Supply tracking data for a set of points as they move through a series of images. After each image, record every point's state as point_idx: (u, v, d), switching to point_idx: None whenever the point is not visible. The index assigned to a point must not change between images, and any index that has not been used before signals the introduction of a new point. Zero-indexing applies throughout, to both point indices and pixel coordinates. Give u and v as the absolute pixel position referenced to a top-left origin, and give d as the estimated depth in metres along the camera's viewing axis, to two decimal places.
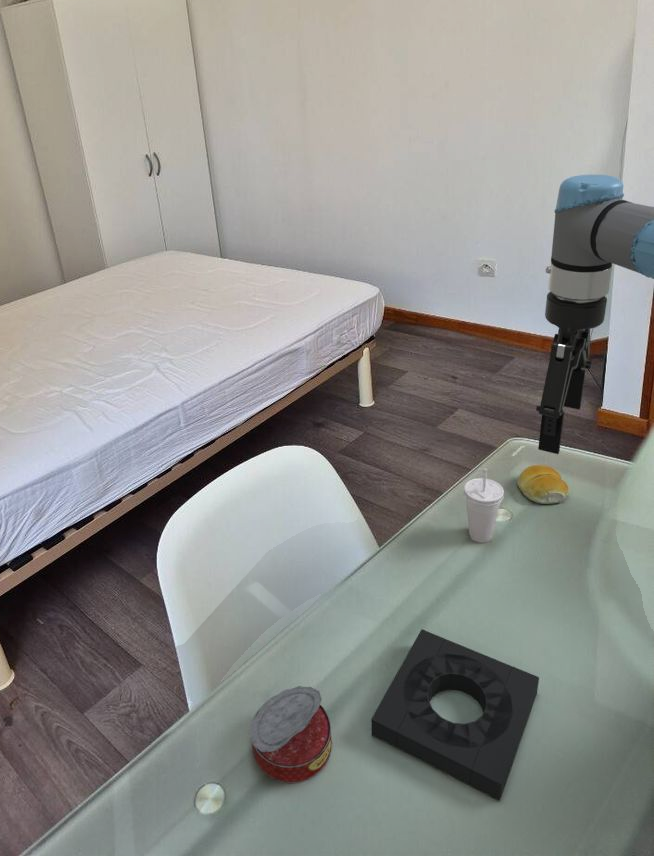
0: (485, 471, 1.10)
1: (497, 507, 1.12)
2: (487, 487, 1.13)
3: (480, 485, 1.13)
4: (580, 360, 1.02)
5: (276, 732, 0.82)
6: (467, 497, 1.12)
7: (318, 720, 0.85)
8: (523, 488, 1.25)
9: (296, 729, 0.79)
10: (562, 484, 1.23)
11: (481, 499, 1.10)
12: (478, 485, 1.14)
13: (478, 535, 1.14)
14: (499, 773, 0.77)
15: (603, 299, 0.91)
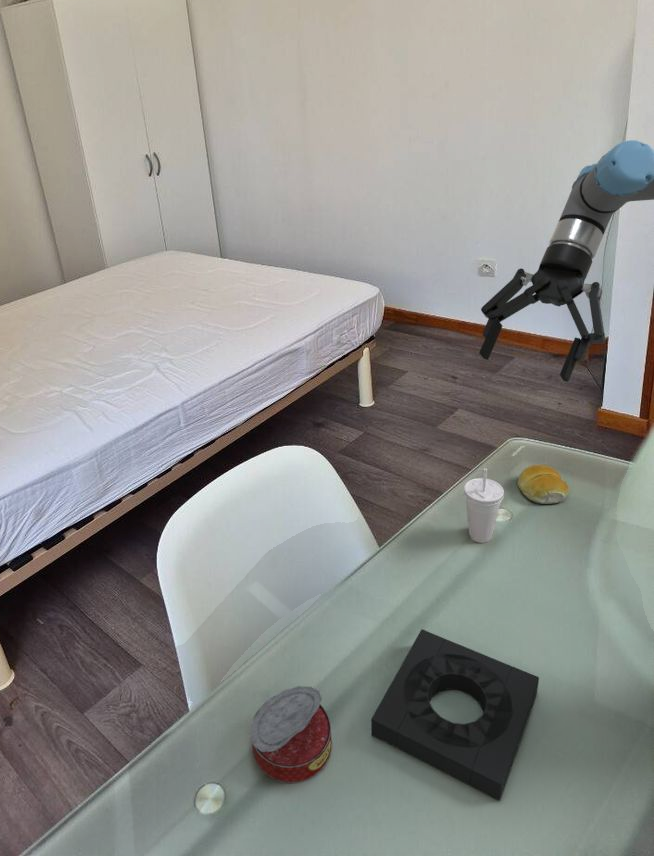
0: (485, 471, 1.10)
1: (497, 507, 1.12)
2: (487, 487, 1.13)
3: (480, 485, 1.13)
4: (576, 325, 1.08)
5: (276, 732, 0.82)
6: (467, 497, 1.12)
7: (318, 720, 0.85)
8: (523, 488, 1.25)
9: (296, 729, 0.79)
10: (562, 484, 1.23)
11: (481, 499, 1.10)
12: (478, 485, 1.14)
13: (478, 535, 1.14)
14: (499, 773, 0.77)
15: (564, 244, 1.12)
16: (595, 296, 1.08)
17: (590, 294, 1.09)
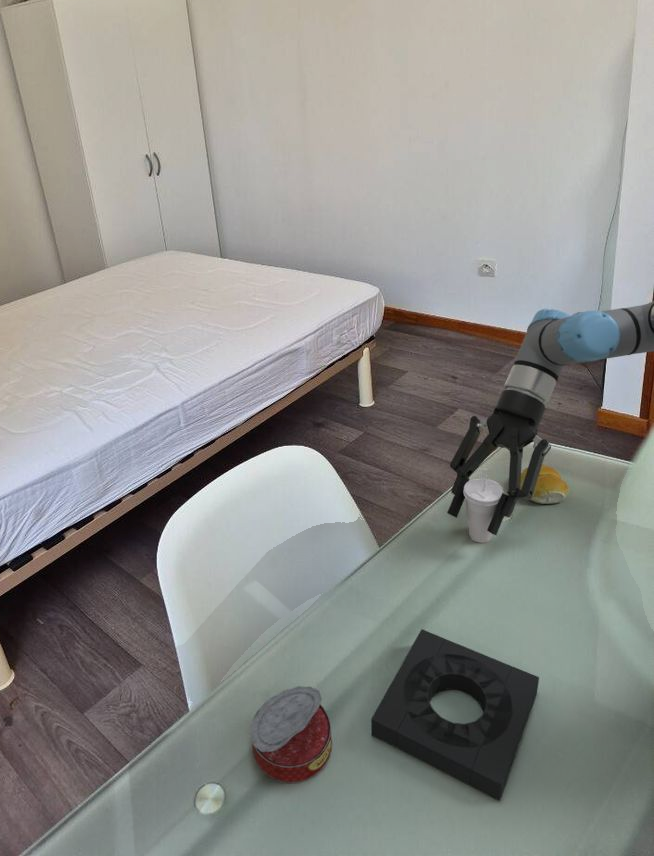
0: (485, 471, 1.10)
1: None
2: (487, 487, 1.13)
3: (480, 485, 1.13)
4: None
5: (276, 732, 0.82)
6: (467, 497, 1.12)
7: (318, 720, 0.85)
8: None
9: (296, 729, 0.79)
10: (562, 484, 1.23)
11: (481, 499, 1.10)
12: (478, 485, 1.14)
13: (478, 535, 1.14)
14: (499, 773, 0.77)
15: (517, 391, 1.13)
16: (538, 454, 1.10)
17: (535, 449, 1.10)
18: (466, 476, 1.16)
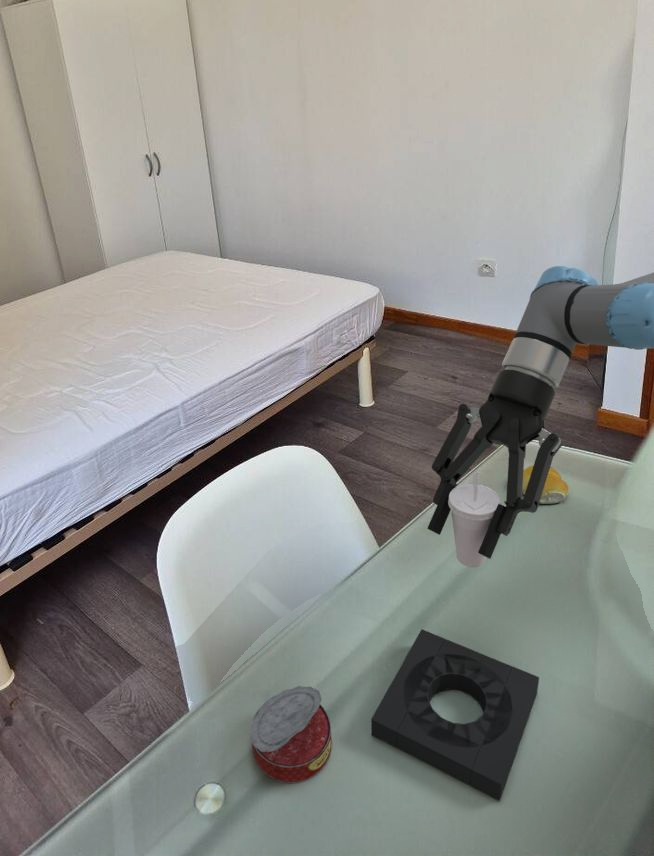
0: (476, 475, 0.84)
1: None
2: (479, 495, 0.87)
3: (470, 493, 0.87)
4: None
5: (276, 732, 0.82)
6: (453, 508, 0.86)
7: (318, 720, 0.85)
8: (523, 488, 1.25)
9: (296, 729, 0.79)
10: (562, 484, 1.23)
11: (471, 511, 0.84)
12: (467, 492, 0.88)
13: (467, 557, 0.88)
14: (499, 773, 0.77)
15: (518, 371, 0.87)
16: (546, 452, 0.84)
17: (541, 447, 0.84)
18: (452, 481, 0.90)
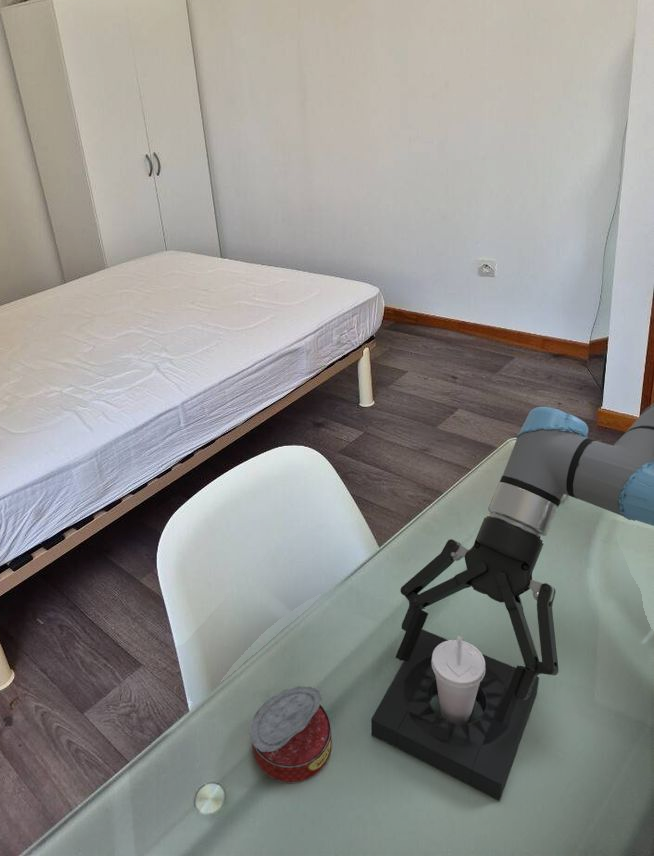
0: (460, 641, 0.81)
1: (476, 686, 0.82)
2: (463, 657, 0.83)
3: (454, 653, 0.84)
4: None
5: (276, 732, 0.82)
6: (436, 672, 0.83)
7: (318, 720, 0.85)
8: None
9: (296, 729, 0.79)
10: None
11: (454, 678, 0.81)
12: (451, 652, 0.84)
13: (451, 718, 0.85)
14: (499, 773, 0.77)
15: (505, 522, 0.84)
16: (545, 606, 0.80)
17: (538, 601, 0.80)
18: (420, 607, 0.89)
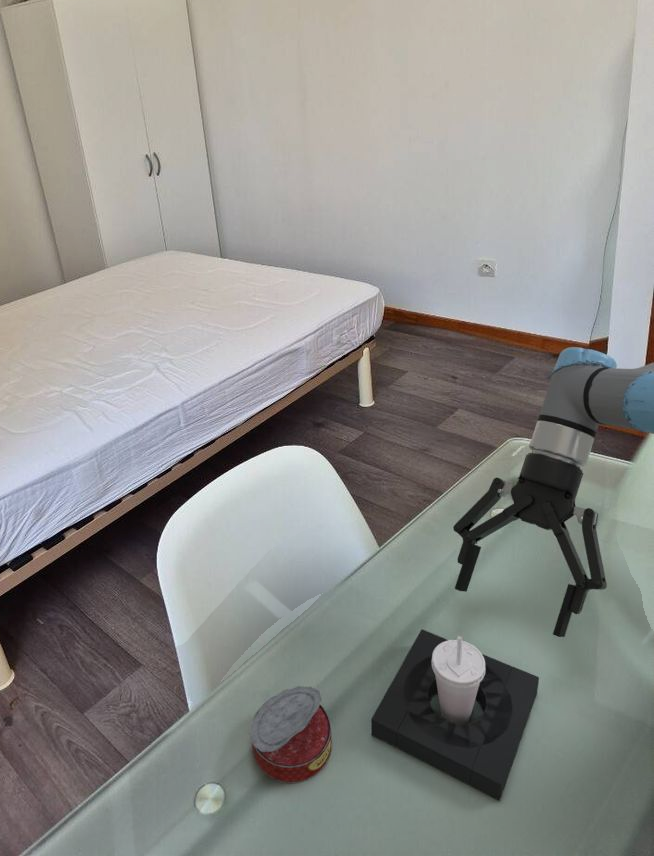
0: (460, 641, 0.81)
1: (476, 686, 0.82)
2: (463, 657, 0.83)
3: (454, 653, 0.84)
4: None
5: (276, 732, 0.82)
6: (436, 672, 0.83)
7: (318, 720, 0.85)
8: None
9: (296, 729, 0.79)
10: None
11: (454, 678, 0.81)
12: (451, 652, 0.84)
13: (451, 718, 0.85)
14: (499, 773, 0.77)
15: (546, 456, 0.91)
16: (589, 528, 0.87)
17: (583, 525, 0.88)
18: None
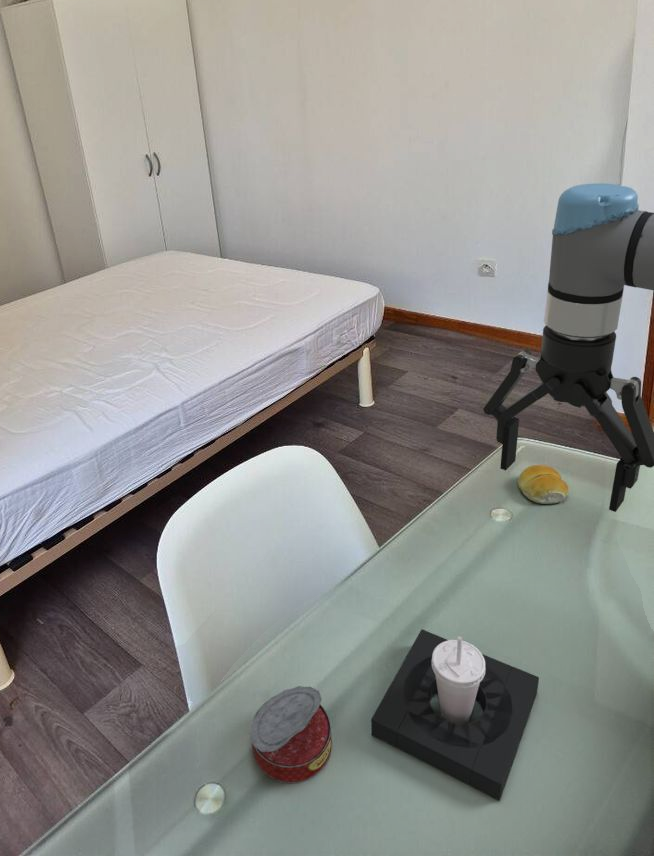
0: (460, 641, 0.81)
1: (476, 686, 0.82)
2: (463, 657, 0.83)
3: (454, 653, 0.84)
4: None
5: (276, 732, 0.82)
6: (436, 672, 0.83)
7: (318, 720, 0.85)
8: (523, 488, 1.25)
9: (296, 729, 0.79)
10: (562, 484, 1.23)
11: (454, 678, 0.81)
12: (451, 652, 0.84)
13: (451, 718, 0.85)
14: (499, 773, 0.77)
15: (565, 340, 0.74)
16: (631, 407, 0.74)
17: (623, 403, 0.75)
18: (508, 419, 0.87)
